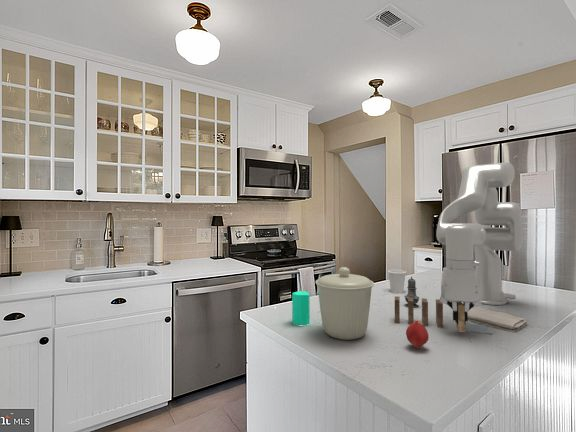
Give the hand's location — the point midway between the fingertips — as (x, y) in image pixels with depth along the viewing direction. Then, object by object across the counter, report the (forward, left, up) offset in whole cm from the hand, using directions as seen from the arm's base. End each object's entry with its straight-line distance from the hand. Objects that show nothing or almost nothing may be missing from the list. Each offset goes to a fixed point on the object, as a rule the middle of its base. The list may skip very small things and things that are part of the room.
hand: (460, 322), depth 98 cm
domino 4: (+5, -6, -3) cm, 9 cm away
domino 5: (0, 0, -2) cm, 2 cm away
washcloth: (-12, -16, -4) cm, 20 cm away
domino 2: (+14, -6, -3) cm, 16 cm away
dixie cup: (+19, -50, -4) cm, 54 cm away
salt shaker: (+13, -27, -4) cm, 31 cm away
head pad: (-6, -6, -3) cm, 9 cm away
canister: (+34, +12, -4) cm, 36 cm away
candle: (+50, +7, -4) cm, 51 cm away
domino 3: (+10, -6, -3) cm, 12 cm away
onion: (+13, +16, -4) cm, 21 cm away
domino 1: (+19, -6, -3) cm, 20 cm away
